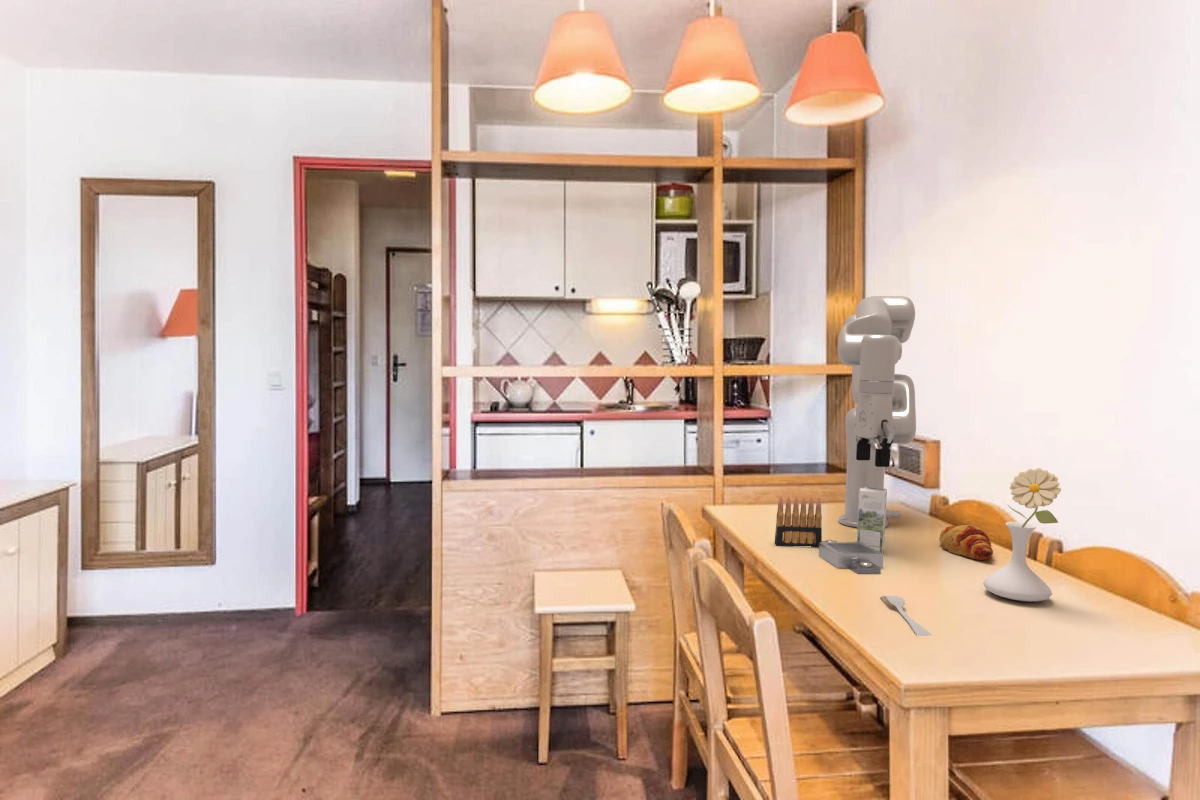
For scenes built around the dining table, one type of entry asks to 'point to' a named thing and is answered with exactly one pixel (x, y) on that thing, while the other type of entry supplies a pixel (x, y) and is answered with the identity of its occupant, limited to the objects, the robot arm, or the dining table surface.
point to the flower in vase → (1025, 538)
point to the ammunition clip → (798, 524)
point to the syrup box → (872, 517)
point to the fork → (899, 604)
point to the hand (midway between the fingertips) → (872, 463)
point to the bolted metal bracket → (852, 556)
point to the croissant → (966, 541)
